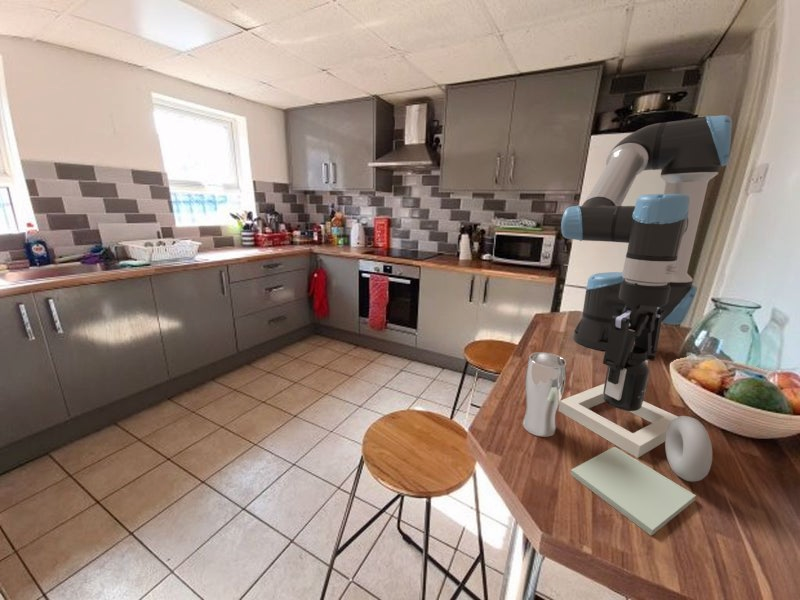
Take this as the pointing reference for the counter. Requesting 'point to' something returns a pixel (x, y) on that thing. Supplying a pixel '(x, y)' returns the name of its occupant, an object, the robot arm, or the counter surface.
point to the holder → (617, 435)
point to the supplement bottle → (631, 382)
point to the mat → (633, 489)
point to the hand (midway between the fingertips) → (623, 391)
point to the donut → (688, 448)
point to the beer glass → (543, 392)
